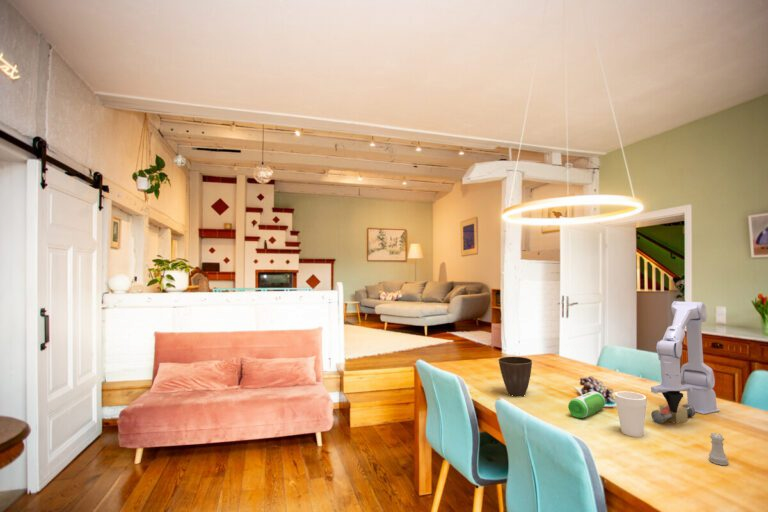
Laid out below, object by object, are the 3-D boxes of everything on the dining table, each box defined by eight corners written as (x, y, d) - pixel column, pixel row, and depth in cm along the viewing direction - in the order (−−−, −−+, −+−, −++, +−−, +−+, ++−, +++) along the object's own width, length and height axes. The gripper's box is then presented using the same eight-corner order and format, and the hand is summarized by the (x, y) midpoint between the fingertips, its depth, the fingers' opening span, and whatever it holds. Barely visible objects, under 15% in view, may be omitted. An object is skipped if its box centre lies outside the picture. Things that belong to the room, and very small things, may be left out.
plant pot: (521, 402, 169) (519, 365, 170) (493, 394, 181) (491, 359, 182) (540, 395, 178) (538, 360, 179) (512, 387, 190) (511, 355, 191)
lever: (669, 404, 147) (669, 400, 147) (678, 406, 145) (678, 402, 145) (659, 412, 139) (659, 408, 139) (669, 414, 137) (669, 410, 137)
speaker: (586, 421, 145) (585, 401, 146) (567, 416, 151) (566, 397, 152) (607, 411, 156) (606, 392, 156) (589, 406, 162) (588, 388, 162)
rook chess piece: (708, 457, 116) (706, 430, 116) (728, 461, 113) (726, 433, 113) (708, 463, 112) (706, 435, 113) (729, 467, 109) (727, 439, 110)
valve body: (681, 413, 150) (680, 401, 151) (698, 419, 145) (697, 406, 145) (649, 420, 145) (648, 407, 145) (665, 425, 139) (664, 412, 140)
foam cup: (633, 440, 128) (631, 401, 129) (610, 429, 137) (608, 393, 138) (655, 436, 131) (653, 397, 131) (631, 426, 140) (629, 390, 140)
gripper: (679, 370, 144) (682, 407, 143) (643, 372, 143) (646, 409, 142) (696, 375, 137) (699, 413, 136) (658, 377, 136) (661, 416, 135)
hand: (673, 412), depth 139 cm, fingers closed, pressing on lever
